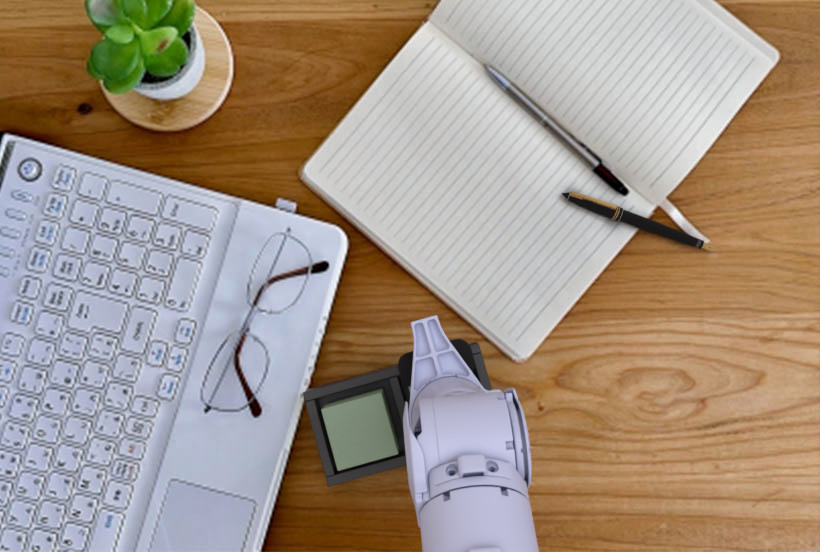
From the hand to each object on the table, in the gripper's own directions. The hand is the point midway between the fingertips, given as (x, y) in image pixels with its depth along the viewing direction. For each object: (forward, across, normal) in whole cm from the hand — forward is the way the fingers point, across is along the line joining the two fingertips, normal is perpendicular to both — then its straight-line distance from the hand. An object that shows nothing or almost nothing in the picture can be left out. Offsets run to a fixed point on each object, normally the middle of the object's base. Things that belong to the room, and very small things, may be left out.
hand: (445, 403), depth 67 cm
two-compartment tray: (+3, 0, +4) cm, 5 cm away
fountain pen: (+4, +10, -20) cm, 23 cm away
